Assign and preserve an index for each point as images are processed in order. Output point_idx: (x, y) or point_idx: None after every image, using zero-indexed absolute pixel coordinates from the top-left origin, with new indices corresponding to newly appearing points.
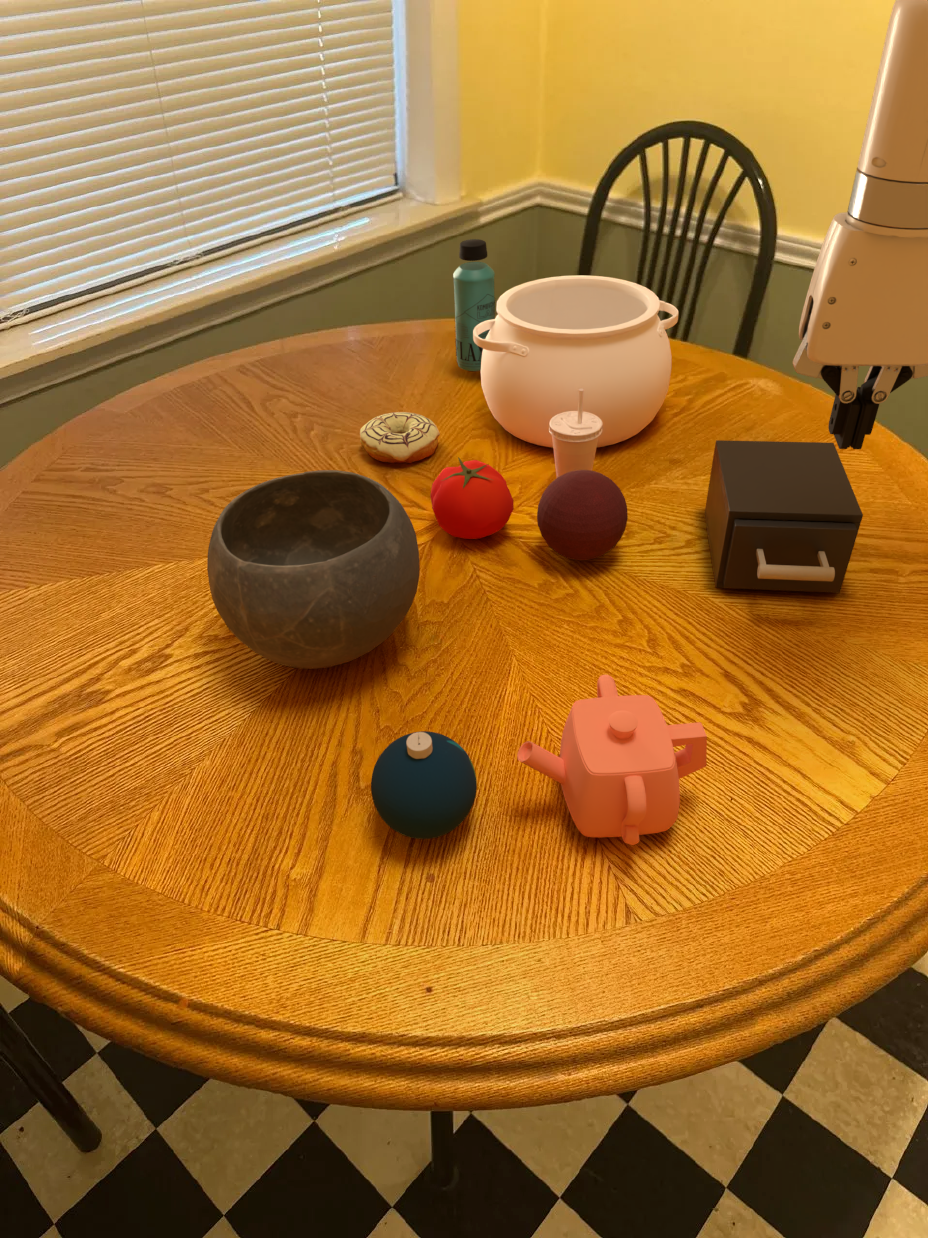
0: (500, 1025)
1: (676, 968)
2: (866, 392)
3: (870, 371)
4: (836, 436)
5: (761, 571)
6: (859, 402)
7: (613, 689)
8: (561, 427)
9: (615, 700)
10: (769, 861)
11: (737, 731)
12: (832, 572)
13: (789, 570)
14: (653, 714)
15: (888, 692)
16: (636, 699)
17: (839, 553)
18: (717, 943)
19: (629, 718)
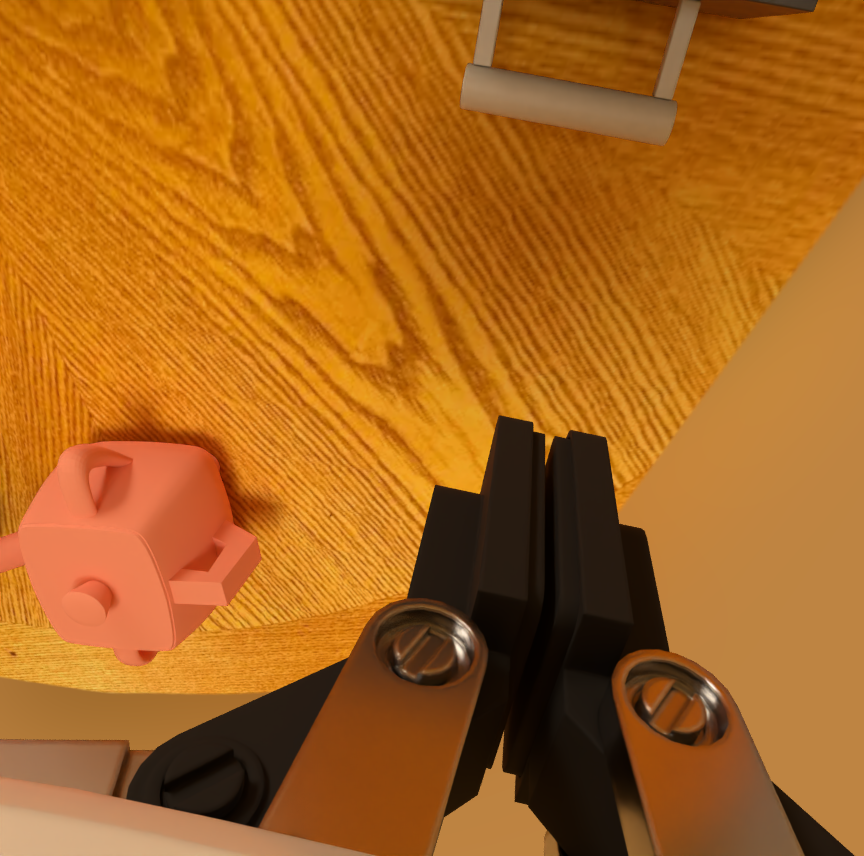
0: (83, 686)
1: (238, 673)
2: (536, 803)
3: (625, 819)
4: (482, 489)
5: (462, 106)
6: (520, 712)
7: (81, 501)
8: None
9: (81, 536)
10: (358, 596)
11: (367, 405)
12: (661, 138)
13: (541, 116)
14: (143, 571)
15: (672, 353)
16: (115, 539)
17: (749, 9)
18: (281, 660)
19: (91, 610)
